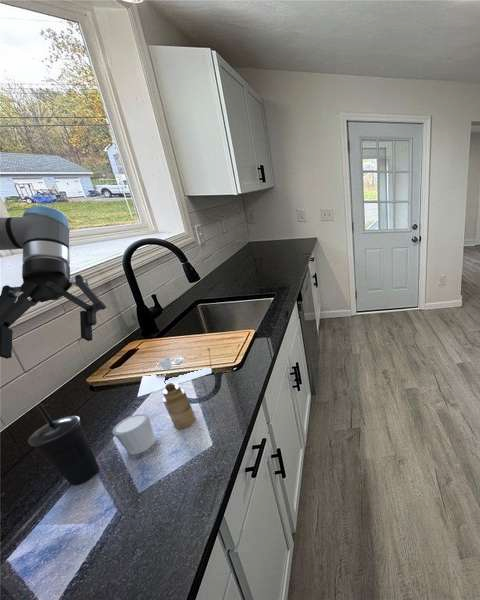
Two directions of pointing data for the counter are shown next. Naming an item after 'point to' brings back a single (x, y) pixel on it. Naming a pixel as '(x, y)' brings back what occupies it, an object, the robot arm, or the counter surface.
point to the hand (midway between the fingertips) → (46, 347)
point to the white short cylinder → (135, 433)
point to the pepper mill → (178, 406)
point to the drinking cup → (65, 447)
